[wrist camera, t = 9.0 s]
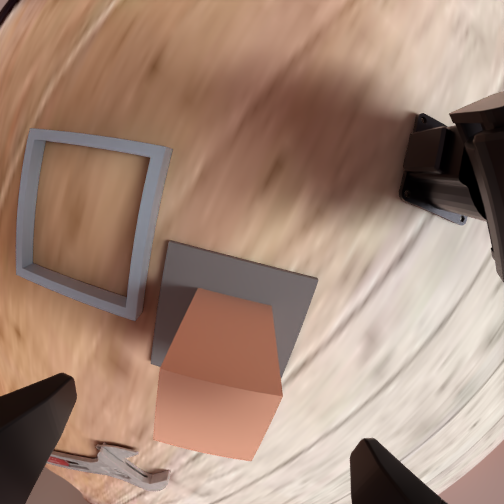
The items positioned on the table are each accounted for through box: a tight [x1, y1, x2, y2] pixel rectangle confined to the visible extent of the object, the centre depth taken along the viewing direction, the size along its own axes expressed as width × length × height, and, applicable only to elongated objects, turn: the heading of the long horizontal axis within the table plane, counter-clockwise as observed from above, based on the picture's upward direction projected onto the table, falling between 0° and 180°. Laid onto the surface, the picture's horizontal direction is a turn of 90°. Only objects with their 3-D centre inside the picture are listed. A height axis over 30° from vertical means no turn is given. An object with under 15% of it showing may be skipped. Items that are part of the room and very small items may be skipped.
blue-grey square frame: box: [16, 128, 173, 321], centre depth 18 cm, size 12×12×2 cm
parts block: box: [153, 288, 283, 461], centre depth 16 cm, size 5×5×9 cm
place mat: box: [151, 240, 318, 377], centre depth 20 cm, size 10×10×1 cm
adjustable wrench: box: [47, 443, 171, 491], centre depth 25 cm, size 8×26×2 cm, turn 99°
